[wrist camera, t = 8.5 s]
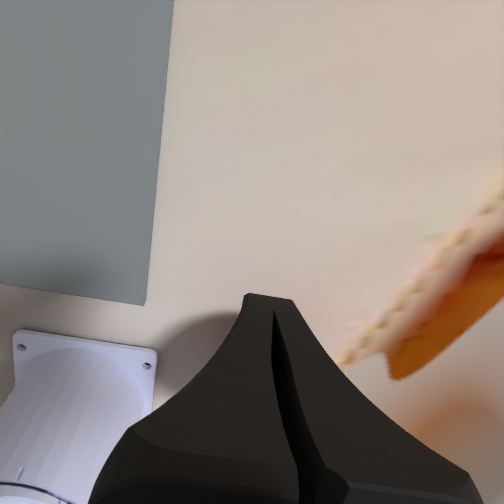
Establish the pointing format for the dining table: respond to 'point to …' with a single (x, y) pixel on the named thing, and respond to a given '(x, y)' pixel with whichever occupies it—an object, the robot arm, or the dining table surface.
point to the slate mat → (81, 143)
